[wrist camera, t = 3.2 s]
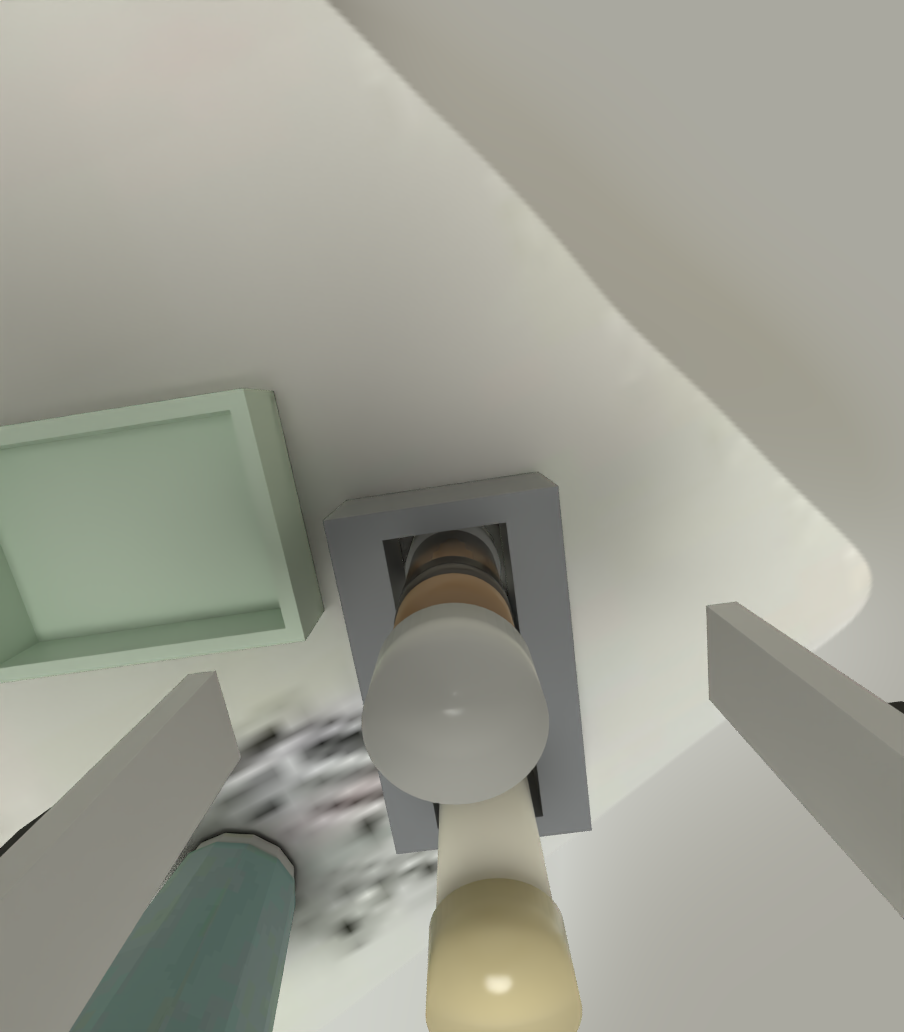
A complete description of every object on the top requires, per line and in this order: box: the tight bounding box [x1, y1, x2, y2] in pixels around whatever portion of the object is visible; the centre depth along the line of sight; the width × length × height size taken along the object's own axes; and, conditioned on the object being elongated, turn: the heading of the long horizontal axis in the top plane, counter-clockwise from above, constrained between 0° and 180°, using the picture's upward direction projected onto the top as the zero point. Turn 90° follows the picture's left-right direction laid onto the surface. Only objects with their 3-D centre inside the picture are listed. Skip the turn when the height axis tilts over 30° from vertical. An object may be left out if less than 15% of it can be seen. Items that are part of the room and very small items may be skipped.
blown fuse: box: [362, 526, 549, 805], centre depth 16 cm, size 4×4×12 cm
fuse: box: [426, 776, 582, 1032], centre depth 18 cm, size 4×4×12 cm
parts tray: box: [0, 388, 324, 683], centre depth 20 cm, size 11×15×3 cm
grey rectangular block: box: [323, 472, 592, 854], centre depth 21 cm, size 16×9×4 cm, turn 9°
